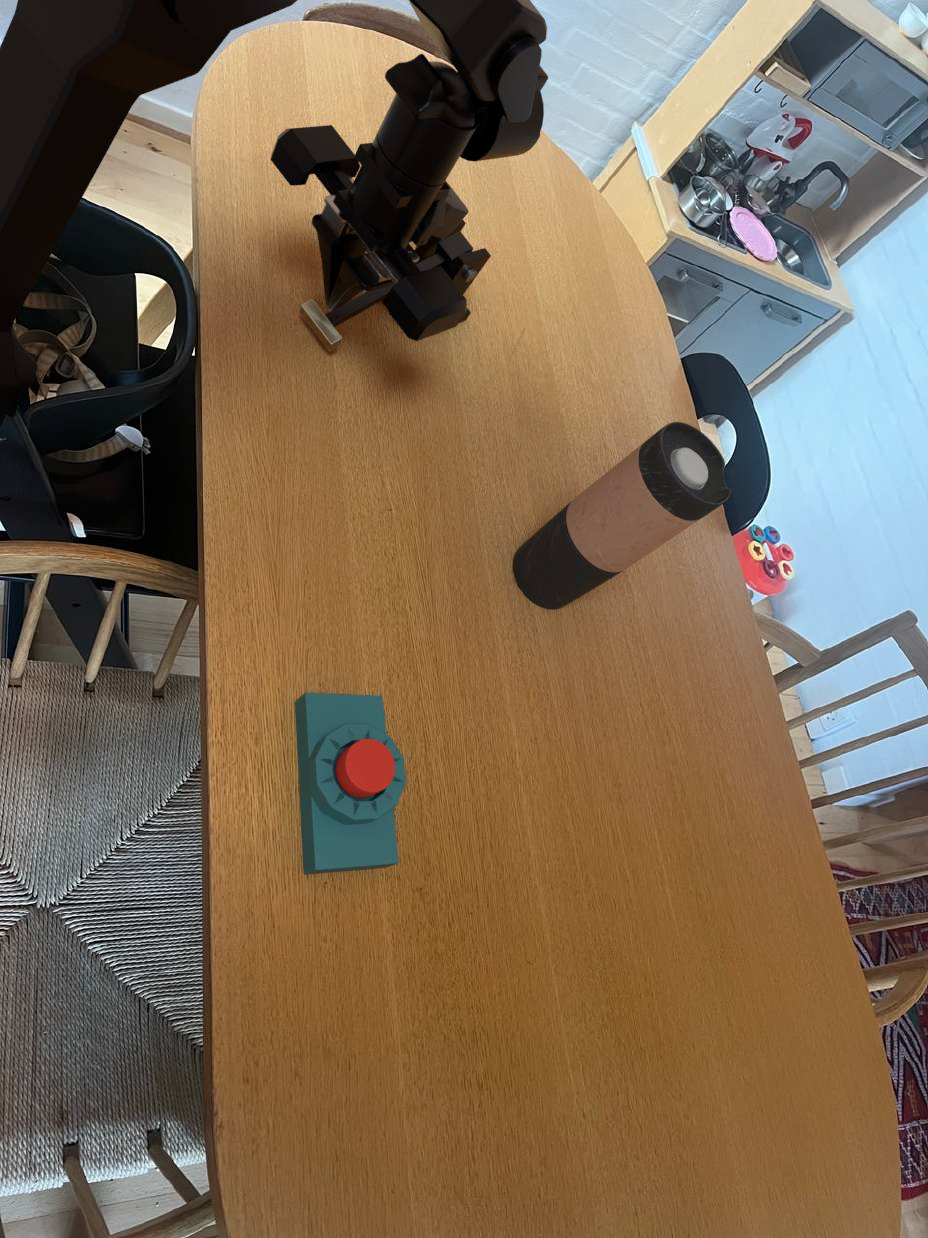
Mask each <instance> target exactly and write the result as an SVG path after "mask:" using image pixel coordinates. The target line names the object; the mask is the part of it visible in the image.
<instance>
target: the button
mask: <svg viewBox="0 0 928 1238" xmlns="http://www.w3.org/2000/svg"><path fill="white" fill-rule="evenodd" d="M394 774H395V762H394V758H393V756H392V754H391V752H390V751H389V749H388V748H387V747H386V746H385V745H384V744H382V743H381V742H379V741H377V740H373V739H362V740H359V741H357V742H356V743H354V744H353V745H351V746H350V747H348V748H347V749H345V750H344V751H343V752H342V753H341V754H340V756H339V758H338V760H337V763H336V776H337V780H338V782H339V784H340V786H341V787H342V788H343V789H344V791H346V792H347V793H348V794H350V795H352V796H354V797H358V798H367V797H370V796H372V795H374V794H376V793H378V792H380V791H382V790H384V789H385V788H386V787H388V786H389V784H390V783H391V782H392V780H393V777H394Z"/></svg>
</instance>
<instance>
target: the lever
mask: <svg viewBox="0 0 928 1238" xmlns="http://www.w3.org/2000/svg"><path fill="white" fill-rule="evenodd" d="M472 251H474V246H472V243H470V242H469V240H468V238H467V237H466V236H465V235H464V233H463V232H462V230H461V231H458V232H456V233H454V234H452V235H450V236H449V237H447V238H446V239H445V240H444V241H439V242H438V244H437V247H436V250H435V252H434V255H433V256H431V257H429V258H427V259H425V260H423V261H422V262H420V263H418V264H416V266H417V267H418V268H419V269H420V271H425V270H428V269H432V268H435V267H439V266H441V267H442V268H443V270H444V271H445V272H447V271H448V269H449V268H450V266H451V265H452V263H453V262H454V260H455V259H456V257H457V256H458V255H461V254H465V253H469V252H472ZM394 285H395V284H393V285H390V286H386V287H383V288H379V289H376V290H373V291H364V292H363V293H360V294H358V295H356V296H355V297H354V298H352V299H351V300H350V301H348V302H347V303H345V304H344V305H343V306H341V307H340V308H338V309H335V310H329V311H327V312H326V313H324V312H323V311H322V310H321V308H320V306H319V305H318V304H317V302H315V300H314V299H313V298H311V299H309V300H307V301H305V302H304V303H302V304H300V307H299V314H300V316H301V317H302V319H304V321H305V322H306V324H307V325H308V326H309V327H310V329H311V330H312V331H313V333H314V334H315V335H316V337H317V338H318V339H319V340H320V342H321V343H322V344H323V346H324V347H325V348H326V349H327V351H328V352H330V353H331V352H332V351H334V350H336V349H338V348H339V347H341V346H342V342H343V337H342V335H341V334H340V333H339V331H338V330H337V329H336V327H338V326H339V325H341V324H343V323H345V322H346V321H348V320H350V319H352V318H354V317H355V316H358V315H359V314H361V313H363V312H365V311H366V310H368V309H370V308H372V307H373V306H375V305H377V304H379V303H381V302H383V300H384V299H386V296H387V294H388V293H389V291H390V289H391V288H392V286H394Z"/></svg>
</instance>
